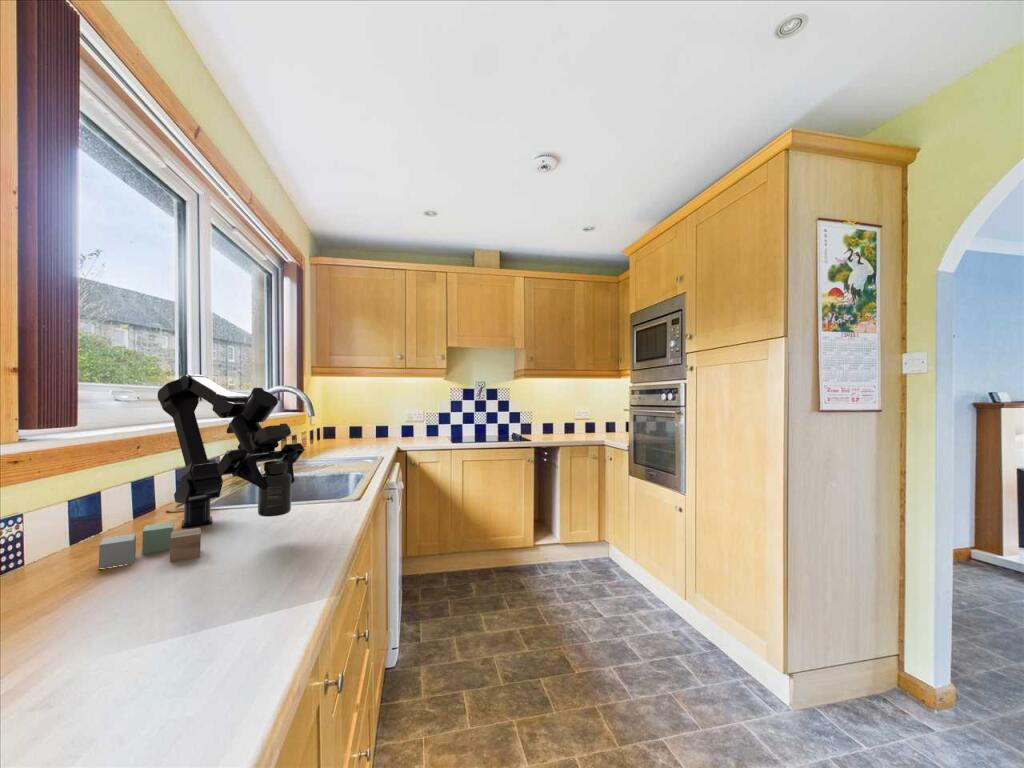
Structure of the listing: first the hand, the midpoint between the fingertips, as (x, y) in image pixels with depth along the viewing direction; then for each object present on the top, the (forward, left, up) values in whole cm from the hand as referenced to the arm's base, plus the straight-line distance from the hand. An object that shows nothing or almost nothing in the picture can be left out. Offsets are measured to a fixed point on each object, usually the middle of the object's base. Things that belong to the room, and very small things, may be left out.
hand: (279, 485), depth 100 cm
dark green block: (-11, -22, -13) cm, 28 cm away
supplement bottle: (-1, -1, -7) cm, 7 cm away
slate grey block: (-5, -28, -13) cm, 32 cm away
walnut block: (-2, -17, -13) cm, 22 cm away
